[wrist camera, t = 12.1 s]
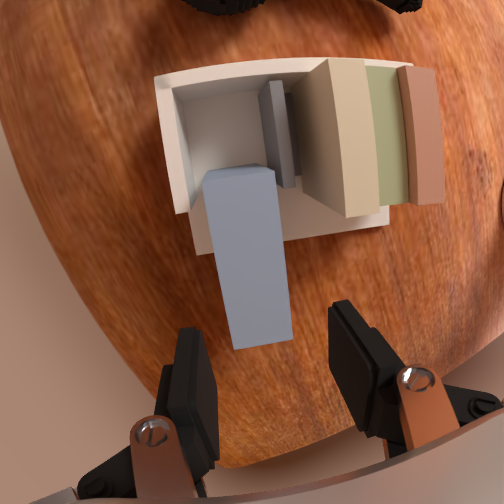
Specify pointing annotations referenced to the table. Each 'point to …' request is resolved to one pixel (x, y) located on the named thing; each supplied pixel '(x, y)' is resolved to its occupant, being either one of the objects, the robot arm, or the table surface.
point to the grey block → (249, 253)
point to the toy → (222, 3)
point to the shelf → (236, 140)
